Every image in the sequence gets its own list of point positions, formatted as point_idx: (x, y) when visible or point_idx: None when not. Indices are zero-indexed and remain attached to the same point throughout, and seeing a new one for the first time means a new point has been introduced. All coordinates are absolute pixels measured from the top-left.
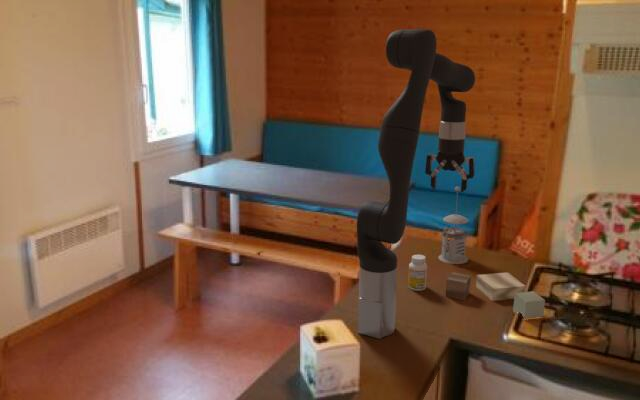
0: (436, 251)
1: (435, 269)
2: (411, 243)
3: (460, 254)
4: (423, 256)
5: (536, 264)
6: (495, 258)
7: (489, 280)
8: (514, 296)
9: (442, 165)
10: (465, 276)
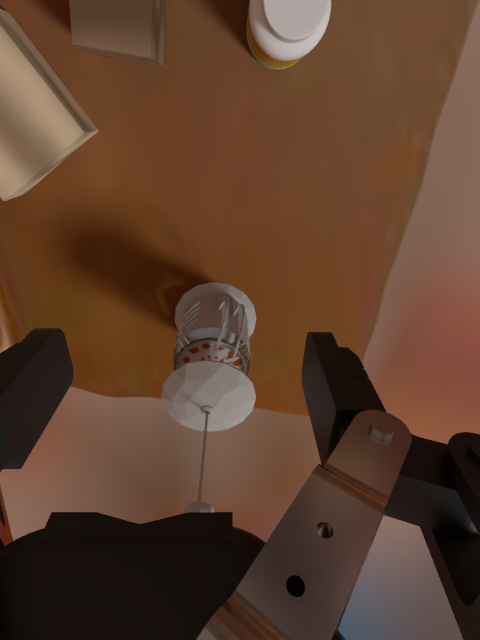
0: (267, 350)
1: (247, 222)
2: None
3: (198, 337)
4: (274, 14)
5: None
6: (112, 357)
7: (26, 93)
8: None
9: (260, 598)
10: (90, 26)
